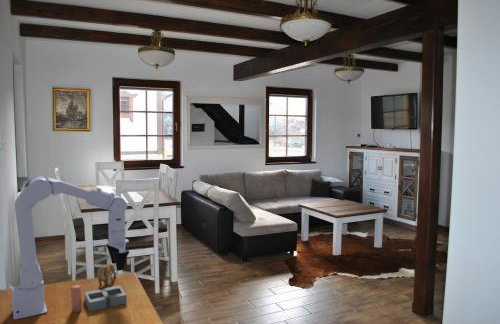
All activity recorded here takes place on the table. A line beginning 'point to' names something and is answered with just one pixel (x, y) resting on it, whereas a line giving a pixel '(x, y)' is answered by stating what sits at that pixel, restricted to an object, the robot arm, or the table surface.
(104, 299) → the hole block
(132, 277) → the table surface
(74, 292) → the peg
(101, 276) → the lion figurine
